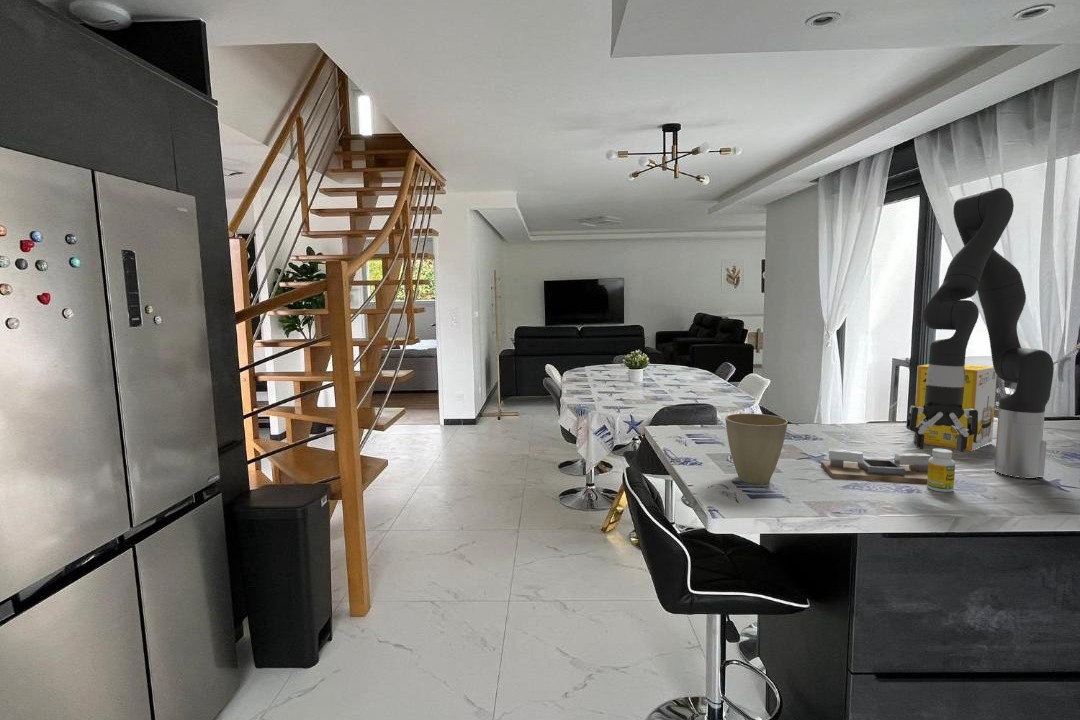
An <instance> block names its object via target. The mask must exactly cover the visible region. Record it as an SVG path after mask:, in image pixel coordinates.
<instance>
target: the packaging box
mask: <svg viewBox="0 0 1080 720" xmlns="http://www.w3.org/2000/svg"><path fill="white" fill-rule="evenodd" d="M928 366H929V363H927V364H922V365H921V364H920V365H917V368H916V369H917V370H916V386H915V400H914V401H915V403H914V404H915V405H914V406H915V407H923V406H924V404H925V390H926V377H927V370H928ZM997 377H998V376H997V374H996V372H995V370H994V367H993V366H986V365H985V366H983V365H974V364H973V365H972V364H970V365H969V364H965V385H964V395H963V404H962V408H963V409H969V408H972V409H974V410H977V411H978V433H977V434H976V435H970V436H968V438H967V448H966V450H974V449H976V448H978V447H981V446H983V445H985V444H987V443H990V442H992V443H993V434H994V432H993V431H994V420H995V418H994V417H995V407H996V406H995V403H996V392H997V391H996V390H997ZM924 417H925V415H924V414H923V412H921V413H920V415H919V416H917V423H916V427H917V426H918V425H919V424H920V421H921V420H922V419H923V418H924ZM959 421H960V422H961V423H962V425H963V426H964V428H965V429H967V418H966V417H965V414H963V416H962V417H961V418H960V419H959ZM923 435H924V444H926V445H933V446H937V447H943V446H945V447H944V448H949V447H952V448H951V449H955V448H956V446H957V435H959V433H958V432H957V431H956V429H955V428H954V427H953V426H945V425H942V426H936V425H934V424H933V425H932V426H931V427H930V428H928V429H927V430H926V431H925V432H924V433H923ZM914 440H915V432H913V439H912V441H913V442H914ZM966 450H965V451H966ZM974 451H975V450H974Z"/></svg>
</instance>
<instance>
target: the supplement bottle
mask: <svg viewBox="0 0 1080 720" xmlns="http://www.w3.org/2000/svg"><path fill="white" fill-rule="evenodd" d="M931 450H932V451H931V458H929V460H928V477H927V484H926V487H927V488H928V489H930V490H932V491H936V492H939V493H941V492H942V493H950V492H951V493H952V492H953V491H954V490H955V489H954V488H955V473H956V461H954V460H953V458H952V457H953V451H952V450H950V449H944V448H932V449H931Z"/></svg>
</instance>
